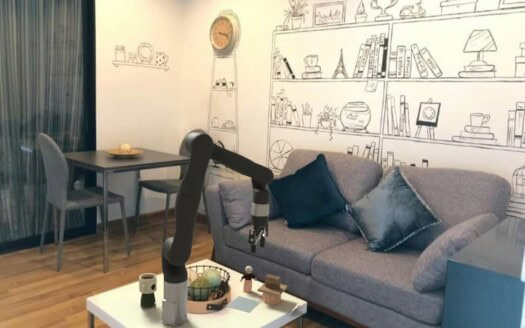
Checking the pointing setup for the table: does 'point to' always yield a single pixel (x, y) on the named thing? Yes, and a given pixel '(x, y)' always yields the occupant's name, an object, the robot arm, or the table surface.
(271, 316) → the table surface
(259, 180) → the robot arm
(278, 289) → the lid
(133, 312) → the table surface
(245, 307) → the mat
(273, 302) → the bowl
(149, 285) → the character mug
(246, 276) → the grandmother figurine
